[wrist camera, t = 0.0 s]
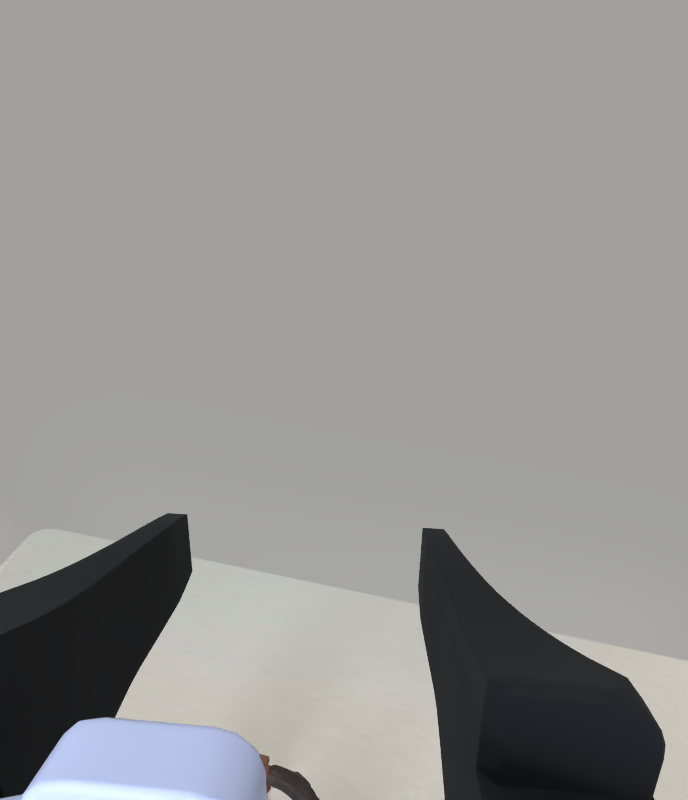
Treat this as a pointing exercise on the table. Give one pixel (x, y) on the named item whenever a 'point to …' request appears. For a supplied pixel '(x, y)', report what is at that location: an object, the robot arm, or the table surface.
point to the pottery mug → (287, 781)
